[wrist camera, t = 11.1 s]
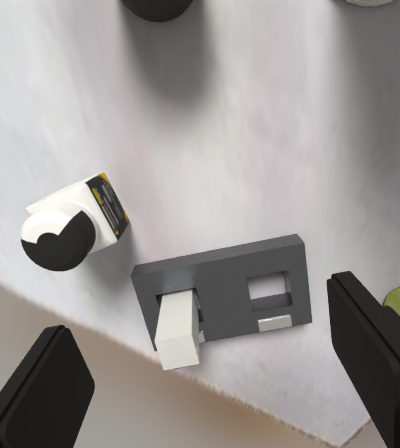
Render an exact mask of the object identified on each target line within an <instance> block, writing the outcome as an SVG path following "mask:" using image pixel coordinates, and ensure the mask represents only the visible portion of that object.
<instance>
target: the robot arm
mask: <svg viewBox="0 0 400 448" xmlns="http://www.w3.org/2000/svg"><path fill="white" fill-rule="evenodd" d="M345 1H347V2H349V3H352V4H355V5H358V6H366V7H372V6H380V5H383V4H386V3H389V2H392V1H394V0H345ZM327 292H328V303H329V315H330V326H331V337H332V344H333V347H334V350H335V352H336V354H337V356H338V358H339V359H340V361H341V363H342V365H343V367H344V369H345V370H346V372H347V374H348V376H349V378H350V380H351V381H352V383H353V385H354V387H355V389H356V391H357V393H358V394H359V396H360V398H361V400H362V402H363V404H364V405H365V407H366V409H367V411H368V413H369V415H370V416H371V418H372V420H373V422H374V424H375V426H376V428H377V429H378V431H379V433H380V435H381V437H382V439H383V440H384V442H385V444H386V446H387V448H400V316H399V315H398V314H397V312H396V311H395V310H394V309H393V308H391V307H390V306H387V305H386V306H381V305H380V304H379V302H378V301H377V300H376V299H375V298H374V297H373V296H372V295H371V293H370V292H369V291H368V290H367V289H366V288H365V287H364V286H363V285H362V283H361V282H360V281H359V280H358V279H357V278H356V277H355V276H354V275H353V273H352V272H350V271H346V272H341V273H335V274H332V276H331V279H328V280H327ZM94 388H95V385H94V380H93V378H92V376H91V374H90V371H89V369H88V367H87V365H86V363H85V361H84V359H83V356H82V355H81V352H80V350H79V348H78V346H77V344H76V342H75V339H74V337H73V335H72V333H71V331H70V329H68V328H65V326H63V325H58V326H53V327H47V328H45V329H44V331H43V332H42V333H41V334H40V336H39V337H38V339H37V340H36V342H35V343H34V345H33V346H32V347H31V349H30V350H29V352H28V353H27V354H26V356H25V357H24V359H23V360H22V362H21V363H20V365H19V366H18V367H17V369H16V370H15V372H14V373H13V374H12V376H11V377H10V379H9V380H8V381H7V383H6V385H5V386H4V387H3V389H2V390H1V392H0V448H73V446H74V444H75V441H76V438H77V436H78V433H79V430H80V428H81V425H82V422H83V420H84V417H85V414H86V411H87V409H88V406H89V404H90V401H91V398H92V396H93V393H94Z"/></svg>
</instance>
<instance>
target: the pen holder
mask: <svg viewBox="0 0 400 448" xmlns="http://www.w3.org/2000/svg"><path fill="white" fill-rule="evenodd" d="M192 1H193V0H122V2H123V3H124V4H125V5H126V6H127V7H128V8H129V9H130V10H131V11H132V12H133V13H134V14H136V15H137V16H139V17H141V18H143V19H145V20H148V21H153V22H165V21H169V20H172V19H174V18H176V17H178V16H179V15H181V14H182V13H183V12H184V11H185V10H186V9H187V8H188V7H189V5H190V4H191V2H192Z"/></svg>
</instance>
